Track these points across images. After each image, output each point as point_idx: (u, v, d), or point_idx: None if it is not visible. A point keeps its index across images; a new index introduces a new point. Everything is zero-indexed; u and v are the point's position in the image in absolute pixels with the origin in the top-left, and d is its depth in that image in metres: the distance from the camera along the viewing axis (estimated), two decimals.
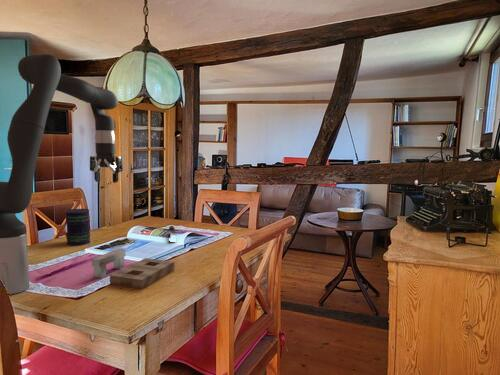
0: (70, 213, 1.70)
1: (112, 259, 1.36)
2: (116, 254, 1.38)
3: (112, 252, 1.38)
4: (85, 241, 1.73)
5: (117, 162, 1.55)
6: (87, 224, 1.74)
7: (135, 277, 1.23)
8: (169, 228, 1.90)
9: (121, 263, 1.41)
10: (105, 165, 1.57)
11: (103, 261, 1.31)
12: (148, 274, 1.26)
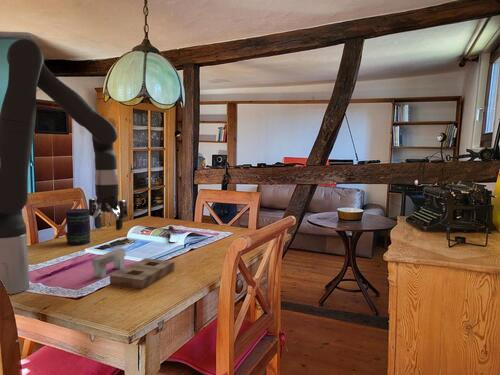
0: (70, 213, 1.70)
1: (112, 259, 1.36)
2: (116, 254, 1.38)
3: (112, 252, 1.38)
4: (85, 241, 1.73)
5: (121, 207, 1.31)
6: (87, 224, 1.74)
7: (135, 277, 1.23)
8: (168, 228, 1.90)
9: (121, 263, 1.41)
10: (107, 210, 1.33)
11: (103, 261, 1.31)
12: (148, 274, 1.26)
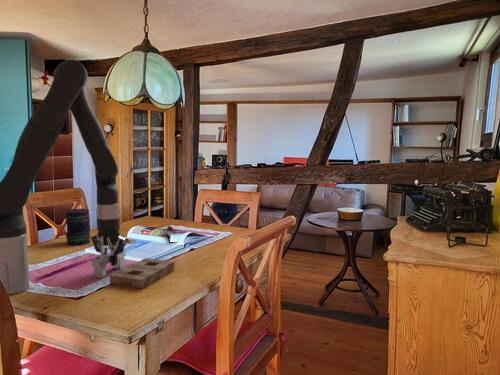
0: (70, 213, 1.70)
1: None
2: None
3: None
4: (85, 241, 1.73)
5: (120, 245, 1.33)
6: (87, 224, 1.74)
7: (135, 277, 1.23)
8: (167, 228, 1.90)
9: (121, 263, 1.41)
10: (106, 242, 1.35)
11: (103, 261, 1.31)
12: (148, 274, 1.26)
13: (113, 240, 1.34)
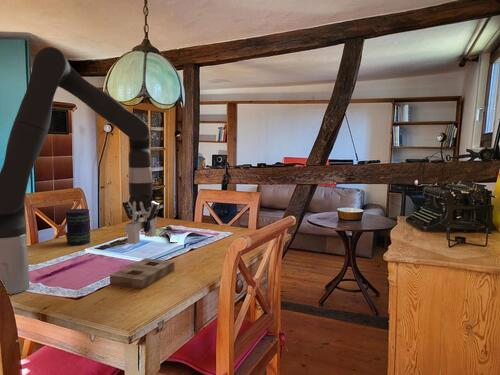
0: (70, 213, 1.70)
1: None
2: None
3: None
4: (85, 241, 1.73)
5: (153, 210, 1.28)
6: (87, 224, 1.74)
7: (135, 277, 1.23)
8: (167, 228, 1.89)
9: (153, 231, 1.36)
10: (138, 207, 1.30)
11: (137, 227, 1.26)
12: (148, 274, 1.26)
13: (146, 205, 1.29)
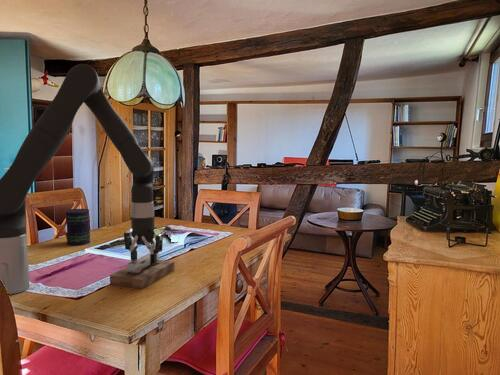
0: (70, 213, 1.70)
1: (146, 263, 1.31)
2: None
3: (146, 256, 1.34)
4: (85, 241, 1.73)
5: (157, 242, 1.28)
6: (87, 224, 1.74)
7: (135, 277, 1.23)
8: (166, 228, 1.89)
9: None
10: (142, 242, 1.30)
11: (139, 266, 1.27)
12: (148, 274, 1.26)
13: (148, 239, 1.29)
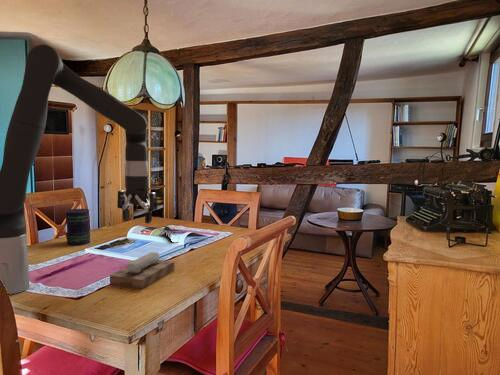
0: (70, 213, 1.70)
1: (146, 263, 1.31)
2: (150, 258, 1.33)
3: (146, 256, 1.34)
4: (85, 241, 1.73)
5: (151, 199, 1.28)
6: (87, 224, 1.74)
7: (135, 277, 1.23)
8: (165, 228, 1.89)
9: None
10: (136, 202, 1.30)
11: (139, 266, 1.27)
12: (148, 274, 1.26)
13: (142, 198, 1.29)
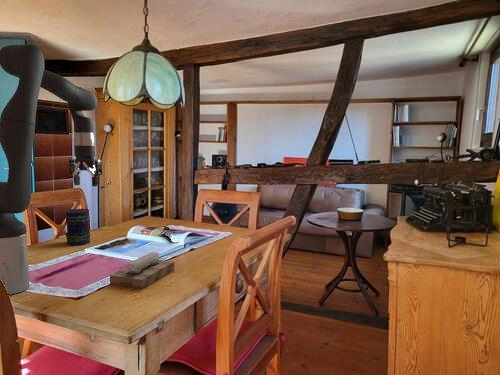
0: (70, 213, 1.70)
1: (146, 263, 1.31)
2: (150, 258, 1.33)
3: (146, 256, 1.34)
4: (85, 241, 1.73)
5: (96, 165, 1.50)
6: (87, 224, 1.74)
7: (135, 277, 1.23)
8: (165, 228, 1.89)
9: None
10: (84, 168, 1.52)
11: (139, 266, 1.27)
12: (148, 274, 1.26)
13: (88, 165, 1.51)
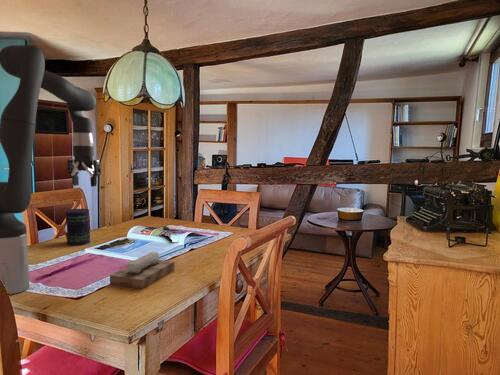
0: (70, 213, 1.70)
1: (146, 263, 1.31)
2: (150, 258, 1.33)
3: (146, 256, 1.34)
4: (85, 241, 1.73)
5: (95, 165, 1.50)
6: (87, 224, 1.74)
7: (135, 277, 1.23)
8: (164, 228, 1.89)
9: None
10: (83, 168, 1.52)
11: (139, 266, 1.27)
12: (148, 274, 1.26)
13: (87, 165, 1.51)
